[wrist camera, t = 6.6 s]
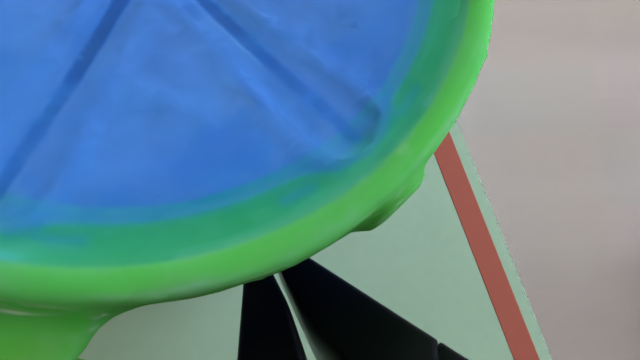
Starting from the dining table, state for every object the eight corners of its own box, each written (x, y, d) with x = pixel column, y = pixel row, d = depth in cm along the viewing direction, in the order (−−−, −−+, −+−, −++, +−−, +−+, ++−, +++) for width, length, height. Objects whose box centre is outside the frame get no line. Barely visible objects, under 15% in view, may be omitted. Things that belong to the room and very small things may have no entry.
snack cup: (255, 426, 13) (249, 815, 3) (-58, 294, 13) (-1063, 311, 3) (410, 40, 18) (598, -267, 8) (181, -64, 17) (83, -517, 8)
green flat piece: (562, 391, 16) (566, 393, 16) (-198, 768, 11) (-207, 777, 10) (438, 82, 18) (440, 80, 17) (-262, 273, 12) (-271, 273, 12)
